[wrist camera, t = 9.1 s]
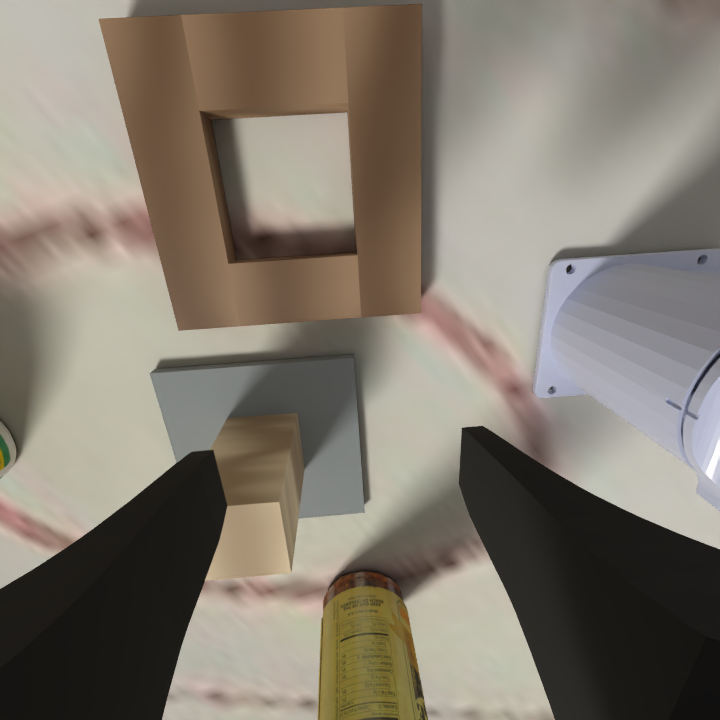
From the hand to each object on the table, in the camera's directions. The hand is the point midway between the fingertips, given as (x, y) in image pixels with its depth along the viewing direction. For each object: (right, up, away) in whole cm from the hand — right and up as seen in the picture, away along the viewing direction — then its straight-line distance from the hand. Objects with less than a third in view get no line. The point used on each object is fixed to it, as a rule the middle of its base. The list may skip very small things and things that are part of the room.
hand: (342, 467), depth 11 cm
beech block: (-5, -2, +11) cm, 12 cm away
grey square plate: (-5, -2, +12) cm, 13 cm away
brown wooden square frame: (-3, +11, +7) cm, 13 cm away
